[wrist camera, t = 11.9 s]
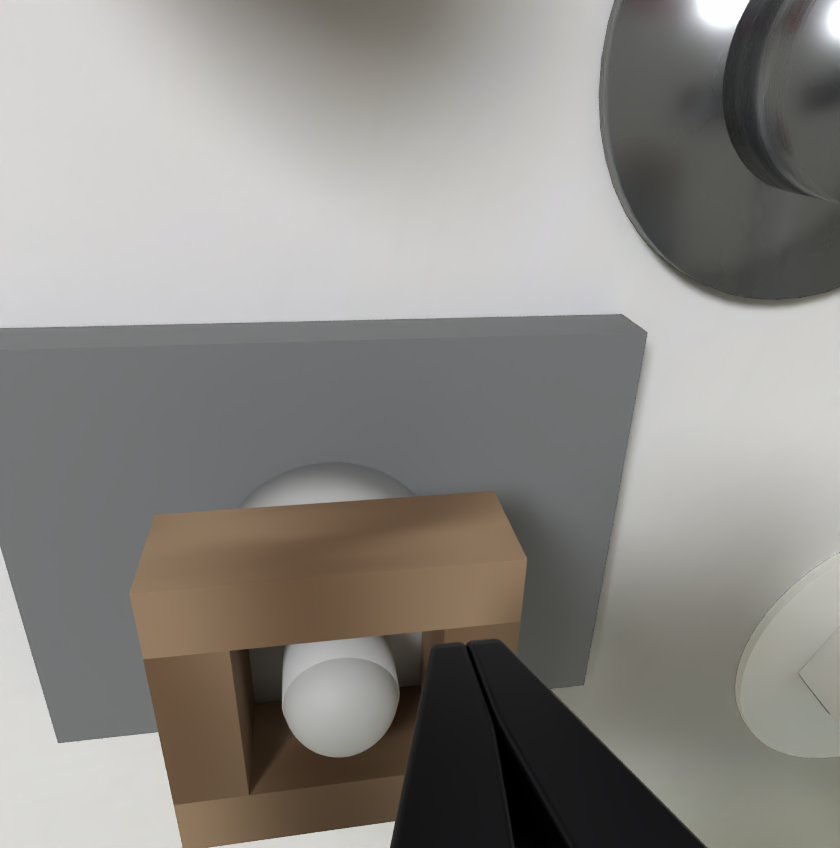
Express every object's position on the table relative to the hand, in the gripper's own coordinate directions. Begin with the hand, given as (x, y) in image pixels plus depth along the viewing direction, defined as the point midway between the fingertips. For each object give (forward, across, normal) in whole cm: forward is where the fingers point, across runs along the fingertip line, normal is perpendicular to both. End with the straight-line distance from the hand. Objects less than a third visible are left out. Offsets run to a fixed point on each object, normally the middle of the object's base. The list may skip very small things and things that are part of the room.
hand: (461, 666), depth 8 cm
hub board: (+11, +2, +5) cm, 12 cm away
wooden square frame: (+6, +1, +5) cm, 8 cm away
